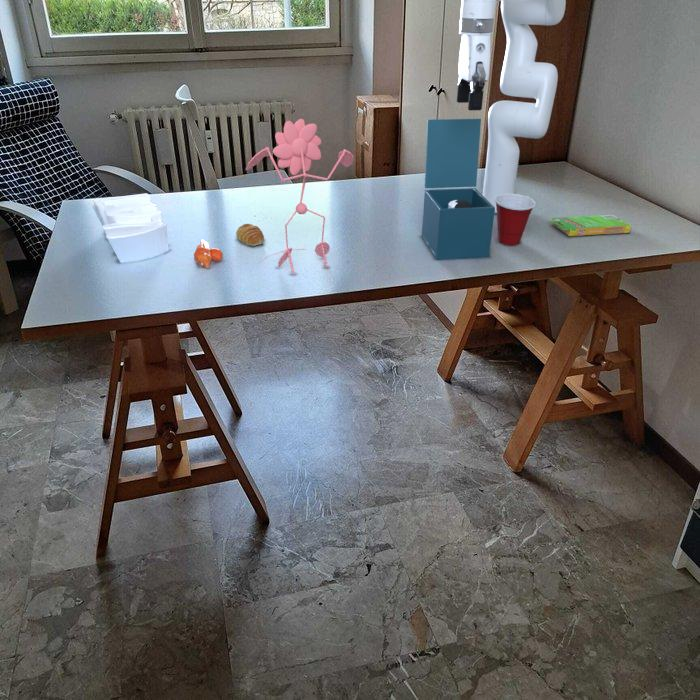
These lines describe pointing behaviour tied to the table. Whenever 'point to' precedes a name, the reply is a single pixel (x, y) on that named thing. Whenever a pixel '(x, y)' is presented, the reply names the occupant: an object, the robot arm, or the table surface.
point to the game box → (591, 225)
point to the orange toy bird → (206, 254)
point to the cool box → (457, 224)
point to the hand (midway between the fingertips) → (468, 106)
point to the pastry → (250, 235)
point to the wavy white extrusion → (132, 226)
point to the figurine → (297, 154)
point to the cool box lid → (452, 153)
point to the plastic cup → (512, 217)
